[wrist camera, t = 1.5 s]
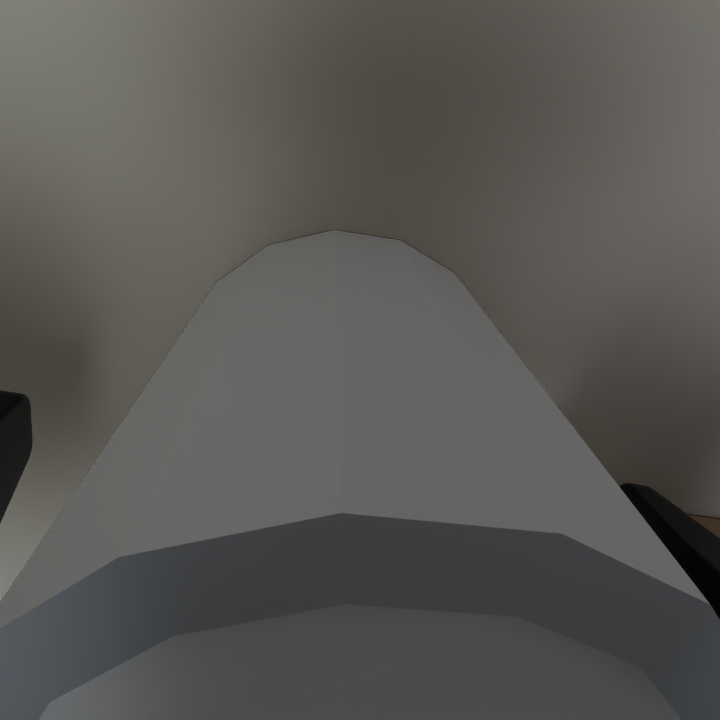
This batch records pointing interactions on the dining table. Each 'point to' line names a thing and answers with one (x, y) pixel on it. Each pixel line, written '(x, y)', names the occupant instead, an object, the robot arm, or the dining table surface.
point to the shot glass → (351, 527)
